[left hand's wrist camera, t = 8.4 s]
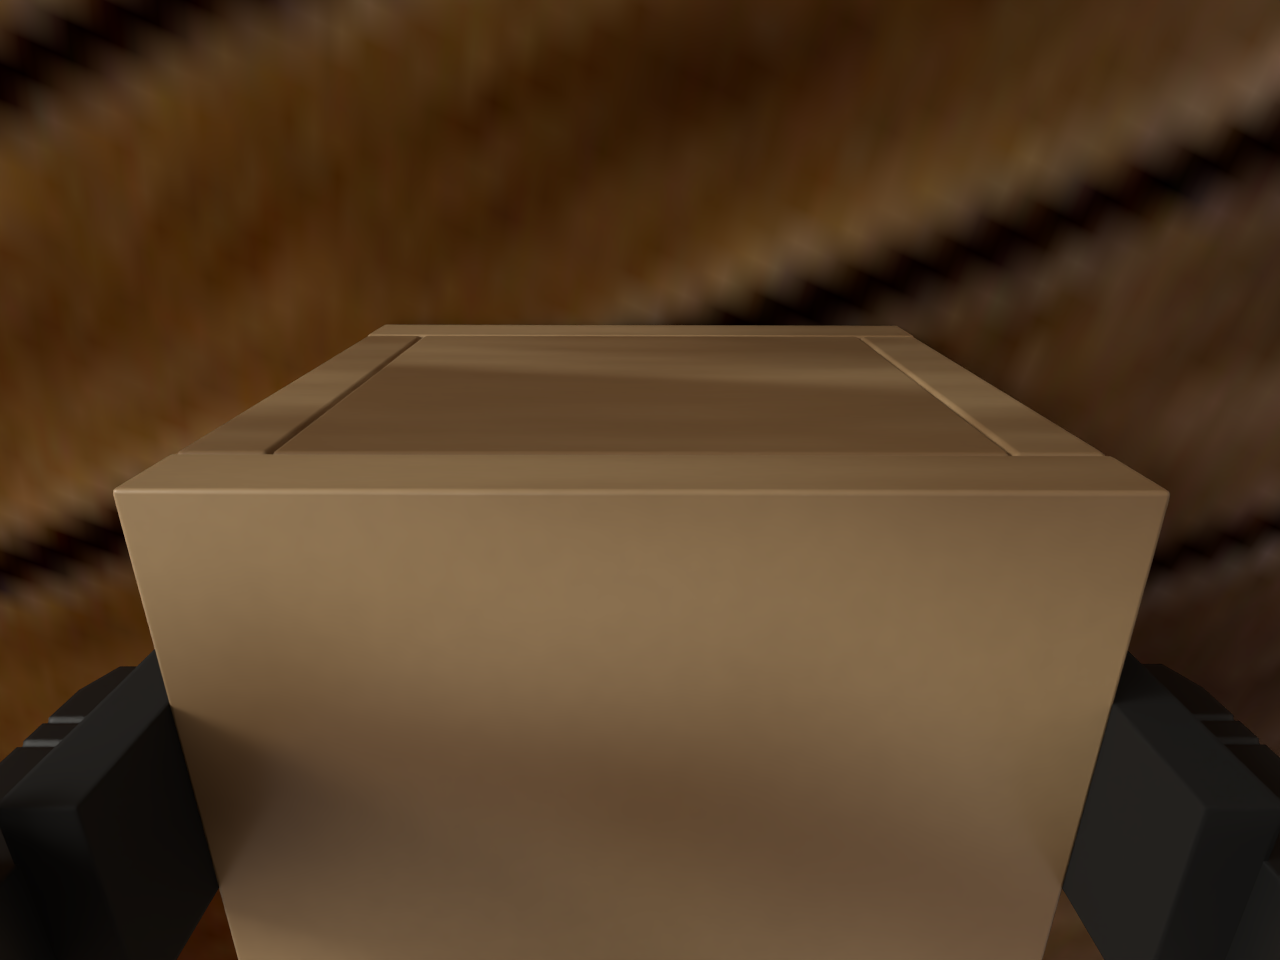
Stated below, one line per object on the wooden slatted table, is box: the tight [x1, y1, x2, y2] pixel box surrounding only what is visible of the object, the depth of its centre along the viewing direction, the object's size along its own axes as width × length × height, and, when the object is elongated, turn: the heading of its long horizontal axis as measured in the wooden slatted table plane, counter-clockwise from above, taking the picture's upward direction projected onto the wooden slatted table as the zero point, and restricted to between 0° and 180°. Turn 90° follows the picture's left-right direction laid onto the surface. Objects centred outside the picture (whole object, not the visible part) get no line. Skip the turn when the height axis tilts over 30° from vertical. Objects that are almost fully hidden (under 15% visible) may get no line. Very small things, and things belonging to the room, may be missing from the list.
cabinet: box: [113, 325, 1170, 960], centre depth 15 cm, size 22×10×9 cm, turn 0°
